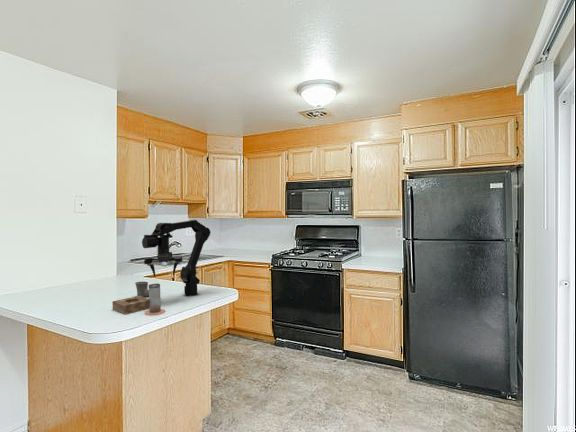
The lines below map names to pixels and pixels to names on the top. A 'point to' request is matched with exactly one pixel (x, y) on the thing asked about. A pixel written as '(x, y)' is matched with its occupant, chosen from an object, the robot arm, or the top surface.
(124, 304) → the housing
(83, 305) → the top surface
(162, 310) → the mat
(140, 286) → the pipe
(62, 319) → the top surface
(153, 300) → the shiny metal cylinder
